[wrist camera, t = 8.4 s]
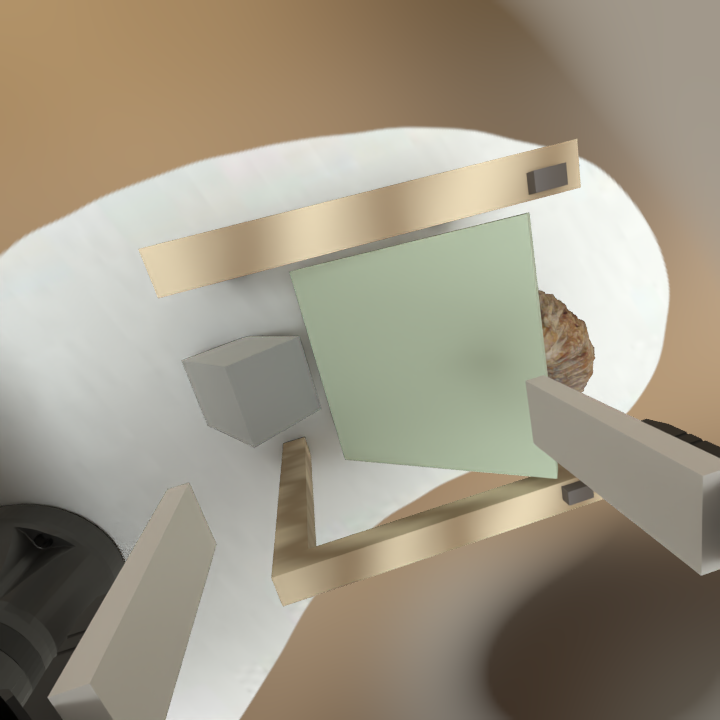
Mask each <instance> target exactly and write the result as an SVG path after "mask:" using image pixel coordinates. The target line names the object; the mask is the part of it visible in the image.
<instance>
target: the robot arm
mask: <svg viewBox="0 0 720 720" xmlns="http://www.w3.org/2000/svg"><path fill="white" fill-rule="evenodd" d="M525 382H526V390H527V397H528V405H529V413H530V420H531V428H532V435H533V443H534V444H535V445H536V446H537V447H538V448H540V449H541V450H542V451H544V452H545V453H546V454H547V455H549V456H550V457H551V458H552V459H554V460H555V461H556V462H558V463H559V464H560V465H561V466H563V467H564V468H565V469H566V470H568V471H569V472H570V473H572V474H573V475H574V476H575V477H577V478H578V479H579V480H580V481H582V482H583V483H584V484H586V485H587V486H588V487H589V488H591V489H592V490H593V491H594V492H596V493H597V494H598V495H600V496H601V497H602V498H603V499H605V500H606V501H607V502H609V503H610V504H611V505H612V506H614V507H615V508H616V509H617V510H619V511H620V512H621V513H622V514H624V515H625V516H626V517H628V518H629V519H630V520H631V521H633V522H634V523H635V524H636V525H638V526H639V527H640V528H642V529H643V530H644V531H645V532H647V533H648V534H649V535H651V536H652V537H653V538H654V539H655V540H657V541H658V542H659V543H661V544H662V545H663V546H664V547H666V548H667V549H668V550H670V551H671V552H672V553H673V554H675V555H676V556H677V557H678V558H680V559H681V560H682V561H683V562H685V563H686V564H687V565H689V566H690V567H691V568H692V569H694V570H695V571H696V572H697V573H699V574H700V575H704V574H707V573H710V572H713V571H715V570H718V569H720V447H719V446H716V445H714V444H712V443H710V442H707V441H702V439H701V438H699V437H696V436H694V435H692V434H687V433H686V432H685V431H683V430H681V429H678V428H676V427H674V426H672V425H669V424H666V423H662V422H657V421H653V420H649V419H645V420H641V421H640V420H638V419H636V418H634V417H631V416H629V415H627V414H625V413H623V412H621V411H619V410H617V409H615V408H612V407H610V406H608V405H606V404H604V403H602V402H600V401H598V400H595V399H593V398H591V397H589V396H587V395H585V394H583V393H581V392H579V391H576V390H574V389H572V388H570V387H568V386H566V385H564V384H562V383H560V382H557V381H555V380H553V379H551V378H549V377H547V376H545V375H543V376H539V377H536V378H533V379H529V380H526V381H525ZM216 545H217V544H216V542H215V540H214V538H213V535H212V533H211V531H210V529H209V526H208V524H207V522H206V520H205V517H204V515H203V513H202V511H201V508H200V506H199V504H198V502H197V499H196V497H195V495H194V492H193V490H192V488H191V486H190V483H186V484H183V485H180V486H176V487H173V488H170V489H167V491H166V493H165V494H164V496H163V498H162V499H161V501H160V503H159V505H158V506H157V508H156V510H155V512H154V513H153V515H152V517H151V519H150V520H149V522H148V524H147V526H146V527H145V529H144V531H143V532H142V534H141V536H140V538H139V539H138V541H137V543H136V545H135V546H134V548H133V550H132V552H131V553H130V555H129V557H128V559H127V560H126V562H125V564H124V562H123V560H122V557H121V555H120V553H119V551H118V549H117V548H116V546H115V545H114V543H113V542H112V541H111V540H110V538H109V537H108V536H107V535H106V534H105V533H104V532H102V531H101V530H100V529H99V528H98V527H96V526H95V525H93V524H92V523H90V522H89V521H87V520H85V519H83V518H81V517H79V516H77V515H75V514H73V513H70V512H67V511H64V510H61V509H57V508H53V507H48V506H42V505H28V504H21V505H8V506H2V507H0V720H165V719H166V716H167V713H168V709H169V706H170V702H171V699H172V695H173V692H174V689H175V685H176V682H177V678H178V675H179V671H180V668H181V665H182V661H183V658H184V654H185V651H186V647H187V644H188V641H189V637H190V634H191V630H192V627H193V623H194V620H195V617H196V613H197V610H198V606H199V603H200V599H201V596H202V593H203V589H204V586H205V582H206V579H207V575H208V572H209V569H210V565H211V562H212V558H213V555H214V551H215V548H216Z"/></svg>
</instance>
